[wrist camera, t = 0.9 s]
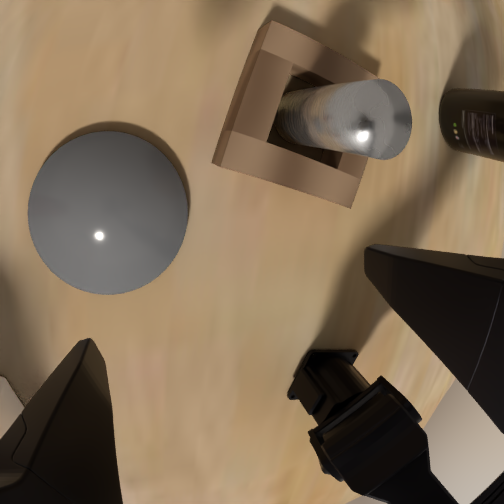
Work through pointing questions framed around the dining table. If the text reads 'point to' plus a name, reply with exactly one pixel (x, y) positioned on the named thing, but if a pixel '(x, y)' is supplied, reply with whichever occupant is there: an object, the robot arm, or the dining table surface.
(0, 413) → the jar
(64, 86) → the dining table surface
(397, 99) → the peg
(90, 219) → the coaster
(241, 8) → the dining table surface
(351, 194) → the socket block
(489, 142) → the supplement bottle
